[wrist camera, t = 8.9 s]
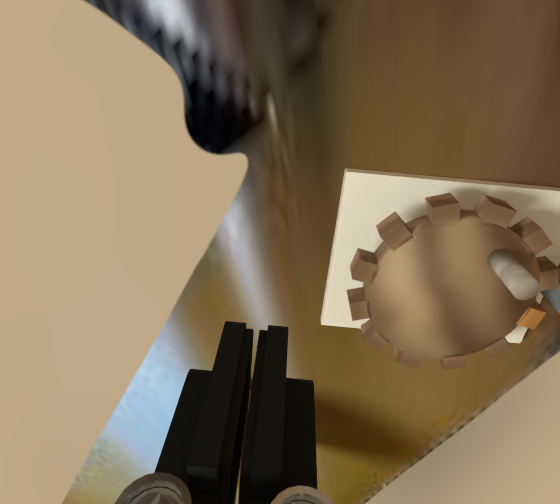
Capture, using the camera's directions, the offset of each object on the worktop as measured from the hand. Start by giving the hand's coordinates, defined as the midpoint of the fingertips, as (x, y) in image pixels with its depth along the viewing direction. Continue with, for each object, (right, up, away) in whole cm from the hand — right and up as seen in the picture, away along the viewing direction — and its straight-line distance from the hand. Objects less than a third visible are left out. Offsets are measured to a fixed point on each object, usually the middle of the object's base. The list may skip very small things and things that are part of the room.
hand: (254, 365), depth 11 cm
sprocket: (+17, 0, +30) cm, 34 cm away
